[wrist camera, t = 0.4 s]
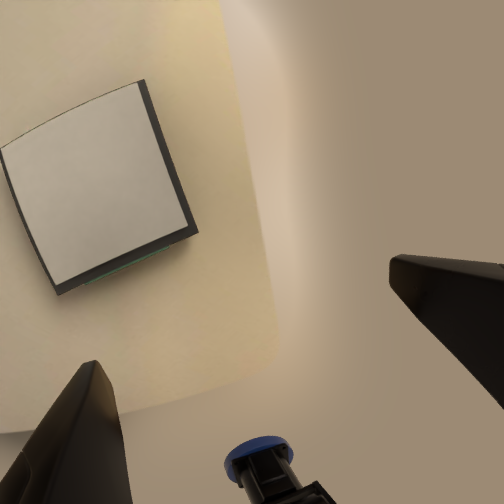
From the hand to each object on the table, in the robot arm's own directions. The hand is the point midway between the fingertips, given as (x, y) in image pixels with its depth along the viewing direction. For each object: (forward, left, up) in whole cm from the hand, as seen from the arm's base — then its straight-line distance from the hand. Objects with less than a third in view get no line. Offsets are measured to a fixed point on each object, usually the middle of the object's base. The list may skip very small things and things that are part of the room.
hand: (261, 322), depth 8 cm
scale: (+4, +5, -14) cm, 15 cm away
